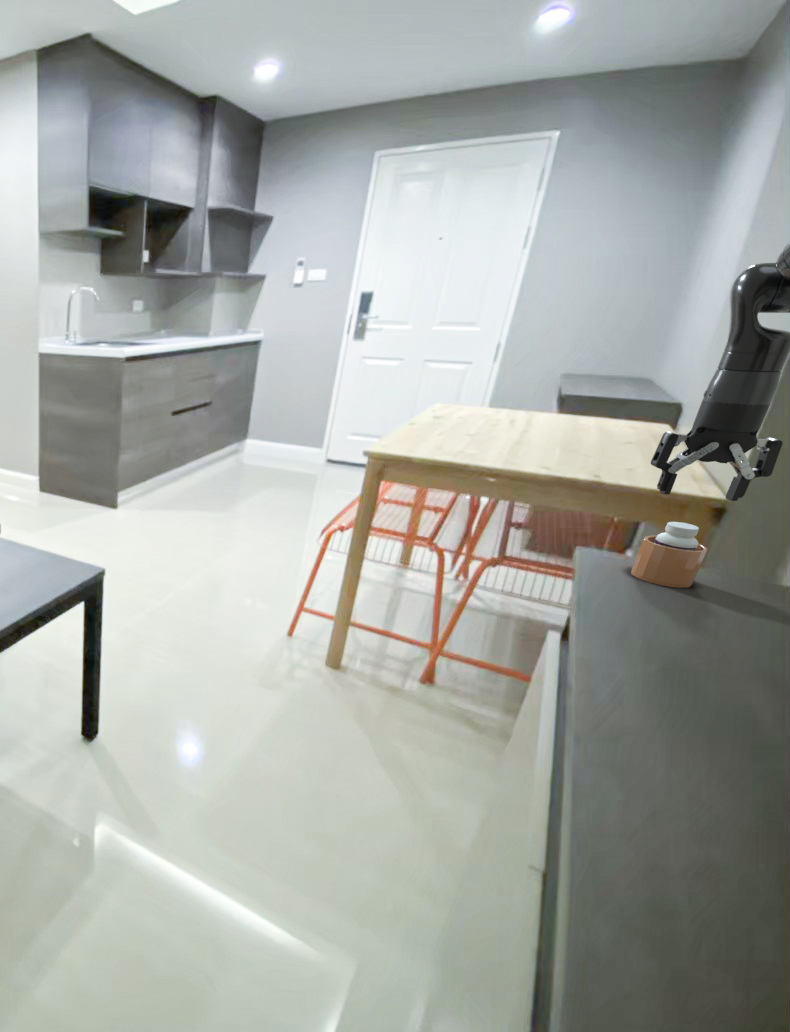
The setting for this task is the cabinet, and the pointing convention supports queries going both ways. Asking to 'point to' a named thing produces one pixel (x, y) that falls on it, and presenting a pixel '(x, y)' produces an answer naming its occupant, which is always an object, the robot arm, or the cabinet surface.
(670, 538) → the pill bottle
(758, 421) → the robot arm
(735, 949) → the cabinet surface
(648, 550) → the holder
